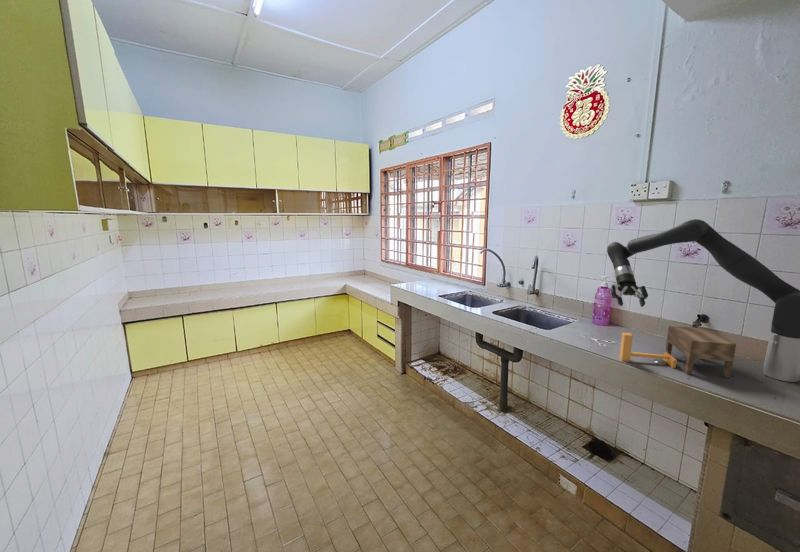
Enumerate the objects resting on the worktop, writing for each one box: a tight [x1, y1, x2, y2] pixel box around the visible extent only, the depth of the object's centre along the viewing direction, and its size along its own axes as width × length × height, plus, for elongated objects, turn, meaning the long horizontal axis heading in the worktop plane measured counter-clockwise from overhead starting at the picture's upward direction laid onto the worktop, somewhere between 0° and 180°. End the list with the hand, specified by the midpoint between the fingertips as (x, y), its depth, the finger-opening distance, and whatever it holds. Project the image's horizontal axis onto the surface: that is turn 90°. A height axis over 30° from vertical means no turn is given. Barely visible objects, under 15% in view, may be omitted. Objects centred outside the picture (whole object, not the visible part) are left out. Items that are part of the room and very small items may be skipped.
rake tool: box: [618, 332, 678, 369], centre depth 141 cm, size 19×8×12 cm, turn 74°
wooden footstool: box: [664, 325, 737, 379], centre depth 136 cm, size 14×18×14 cm
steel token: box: [652, 358, 669, 366], centre depth 141 cm, size 5×5×1 cm
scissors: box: [574, 332, 621, 348], centre depth 168 cm, size 11×1×20 cm
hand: (632, 305), depth 152 cm, fingers open, 8 cm apart
